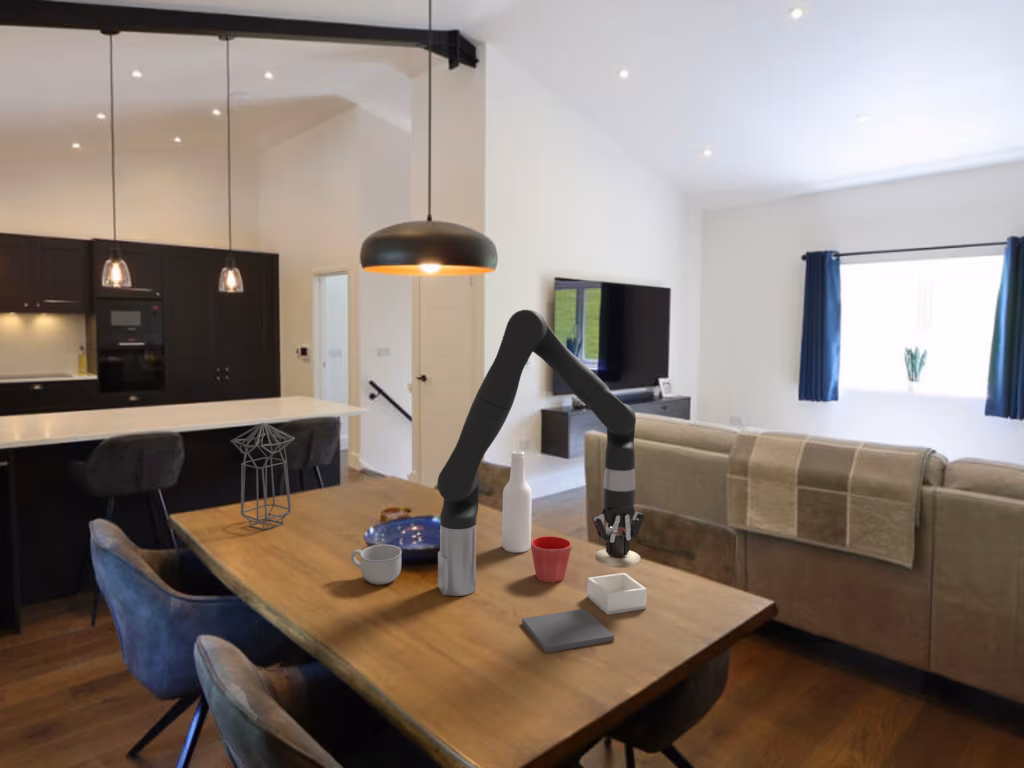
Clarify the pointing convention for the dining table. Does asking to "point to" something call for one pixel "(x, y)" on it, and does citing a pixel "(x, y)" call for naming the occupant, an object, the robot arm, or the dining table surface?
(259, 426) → the geometric lantern
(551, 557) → the flower pot
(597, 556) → the lid
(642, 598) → the dish
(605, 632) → the mat
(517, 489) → the alcohol
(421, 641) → the dining table surface
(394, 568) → the teacup
